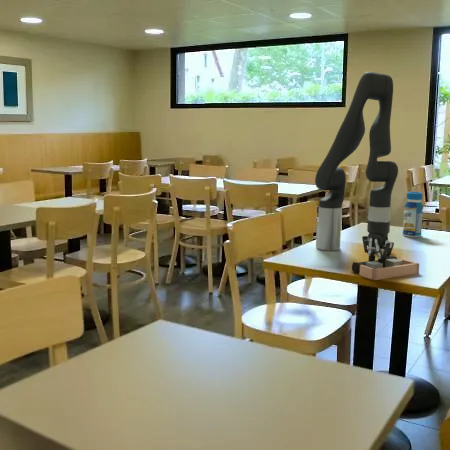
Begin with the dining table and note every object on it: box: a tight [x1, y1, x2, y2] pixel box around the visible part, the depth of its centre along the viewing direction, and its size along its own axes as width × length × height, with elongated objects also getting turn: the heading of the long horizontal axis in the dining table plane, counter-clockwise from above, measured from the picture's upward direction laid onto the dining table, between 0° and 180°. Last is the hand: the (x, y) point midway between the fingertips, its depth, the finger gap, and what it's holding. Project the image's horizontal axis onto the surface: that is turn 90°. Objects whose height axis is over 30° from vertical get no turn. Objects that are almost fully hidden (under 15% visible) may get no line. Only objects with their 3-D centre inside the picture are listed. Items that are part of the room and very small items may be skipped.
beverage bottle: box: [402, 191, 424, 238], centre depth 261 cm, size 8×8×20 cm
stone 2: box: [385, 258, 402, 267], centre depth 199 cm, size 4×4×4 cm
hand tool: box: [351, 255, 398, 274], centre depth 199 cm, size 19×4×5 cm, turn 112°
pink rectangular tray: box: [358, 258, 420, 281], centre depth 194 cm, size 7×20×4 cm, turn 117°
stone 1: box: [365, 260, 383, 269], centre depth 195 cm, size 4×4×4 cm
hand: (376, 267), depth 200 cm, fingers open, 4 cm apart
